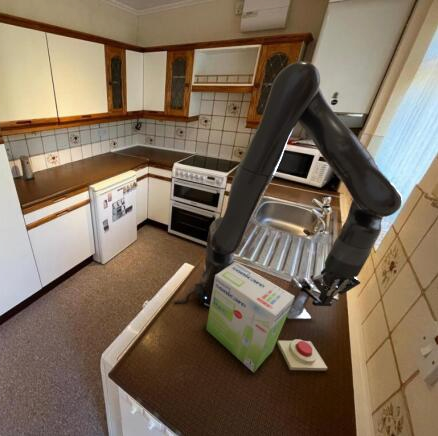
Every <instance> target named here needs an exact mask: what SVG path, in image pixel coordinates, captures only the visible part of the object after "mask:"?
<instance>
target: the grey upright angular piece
mask: <svg viewBox="0 0 438 436" xmlns="http://www.w3.org/2000/svg"><path fill="white" fill-rule="evenodd" d="M302 282H304V283H305V284H306V285H308V286H307V289H308V290H310V291H311V292H312V293H313V291H314V289H315V286H314V284H312V283H311V281H310V280H309V279H308V278H307V277H304V278H302ZM301 288H302V287H301V285H300V284H299V283H298V280H297V279H296V278H295V277H291V280H290V283H289V284H288V287H287V290H286V291H287V292H288V293H290V294H292V295H294V296H295V297H294V300H293V302H292V305H291V307H290V310H289V312H288V314H287V317H286V319H288V320H289V319H290V320H291V319H293V320H295V319H296V320H312V316H311V315H310V314H309V313H308V311H307V310H306V309H305V308H306V306H307V303H308V302H309V299H310V298H311V297H310V296H309V295H308V294H306V293H305V292H300V291H301Z"/></svg>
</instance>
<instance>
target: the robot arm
mask: <svg viewBox="0 0 438 436" xmlns="http://www.w3.org/2000/svg"><path fill="white" fill-rule="evenodd" d="M320 86H321V76H320V72H319V69H318V68H317V67H316V66H315V65H314V64H313V63H311V62H309V61H305V60H304V61H303V60H302V61H295V62H293V63H291V64H289V65H286V67H284V68H282V70H280V71H279V73H277V75H276V76H275V78H274V80H273V81H272V84H271V88H270V91H269V95H268V98H267V100H266V103H265V107H264V110H263V113H262V115H261V119H260V122H259V124H258V126H257V128H256V130H255V132H254V133H253V135H252V138H251V140H250V142H249V143H248V145H247V147H246V149H245V151H244V153H243V155H242V157H241V159H240V161H239V164H238V165H237V168H236V171H235V173H234V175H233V178H232V181H231V185H230V189H229V193H228V199H227V203H226V204H227V205H226V208H225V211H224V214H223V215H222V216H221V217H218V218H216V219H214V220H213V221H212V222H211V224H210V225H209V228H208V234H207V239H206V240H207V241H206V246H205V247H206V248H205V258H204V263H203V264H204V265H203V269H202V273H201V274H200V278H199V283H194V288H193V290H192V291H190V292H189V293H188V294H187V295H186V298H185V300H175V301H174V304H181V305H182V304H186V303H187V302H189V299H190V296H191V295H193V294H194V295H195V298H196V300H199V303H200V305H201V306H205V307H207V308H209V309H210V303H211V297H212V291H213V286H214V279H215V275H216V274H218V273H219V272H221V271H222V270H224V269H225V268H227V267H228V266H230V265H231V264H233V263H234V262H235V252H236V251H238V250H239V248H240V247H241V245H242V243H243V239H244V237H245V234H246V231H247V228H248V226H249V224H250V221H251V219H252V217H253V215H254V213H255V211H256V210H257V208H258V206H259V204H260V202H261V200H262V199H263V197H264V195H265V193H266V192H267V190H268V188H269V186H270V184H271V182H272V180H273V178H274V176H275V174H276V172H277V169H278V167H279V165H280V162H281V160H282V158H283V155H284V152H285V149H286V147H287V143H288V141H289V139H290V137H291V135H292V132H293V130H294V129H295V127H296V125H297V124H298V123H299V125H300V126H301V127H302V128H303V130H304V131H305V132H306V133H307V135H308V136H309V137H310V139H311V141H312V142H313V144H314V145H315V147H316V149H317V150H318V152H319V153H320V155H321V157H322V158H323V159H324V161H325V162H326V163H327V165H328V166H329V168H330V169H331V170H332V172H333V173H334V174H335V176H336V177H337V178H338V179H339V180H340V181H341V182H342V183H343V185H344V186H345V188H346V189H347V191H348V193H349V195H350V196H351V198H352V200H351V203H350V206H349V210H348V213H347V217H346V219H345V220H344V223H343V224H342V227H341V229H340V231H339V232H338V235H337V237H336V239H334V241H333V243H332V245H331V247H330V249H329V252H328V254H327V256H326V258H325V260H324V268H323V269H322V270H321V271H320V273H319V274H317V275H314V274H312V275H310V277H309V278H310V280H311V281H312V283H313V286H314V287H315V288H316V289H317V290H318V291H319V296H318V298H319V300H320V301H321V302H322V304H329V303H330V302H331V303H332V301H333V299H334V297H336V296H337V295H338V294H340V295H344V294H345V293H347V292H349V291H351V290H352V289H354V288H356V287H357V286H359V285H360V284H361V283H362V282H361V281H360V280H359V279H358V278H357V277H358V276H359V275H360V273H361V272H362V269H363V268H364V266H365V264H366V262H367V261H368V259H369V258H370V255H371V252H372V249H373V247H374V246H375V244H376V242H377V240H378V238H379V236H380V234H381V232H382V221H383V218H387V217H391V215H394V214H396V213H397V212H398V211H399V210H400V209H401V207H402V204H403V196H402V194H401V192H400V191H399V190H398V189H397V187H396V186H395V184H393V183H392V182H391V181H390V179H389V178H388V177H387V176H386V175H385V174H384V173H383V172H382V170H381V169H380V168H379V167H378V164H377V162H376V161H375V158H374V157H373V156H372V154H371V153H370V151H368V149H367V148H366V147H365V145H364V144H363V143H362V142H361V140H360V139H359V138H358V137H357V135H355V133H354V132H353V131H352V130H351V129H350V128H349V127H348V126H347V124H346V123H344V122H343V121H342V120H341V119H340V118H339V117H338V115H336V113H335V112H334V111H333V109H332V108H331V107H330V105H329V104H328V102H327V100H326V98H325V97H324V95H323V92H322V90H321V88H320Z"/></svg>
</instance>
